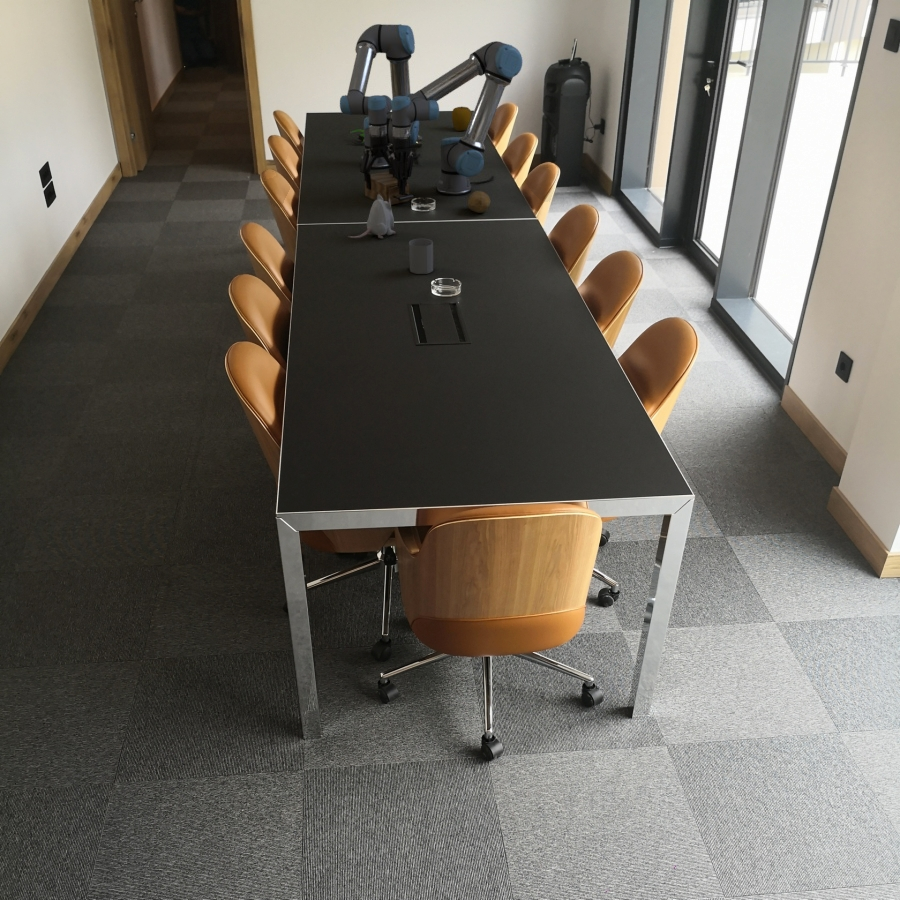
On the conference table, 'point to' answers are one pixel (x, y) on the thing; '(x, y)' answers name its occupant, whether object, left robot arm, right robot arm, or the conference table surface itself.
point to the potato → (478, 201)
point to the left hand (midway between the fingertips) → (380, 186)
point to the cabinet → (381, 186)
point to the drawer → (395, 196)
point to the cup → (421, 256)
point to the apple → (461, 118)
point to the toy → (379, 219)
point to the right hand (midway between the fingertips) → (402, 194)
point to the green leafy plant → (361, 137)
